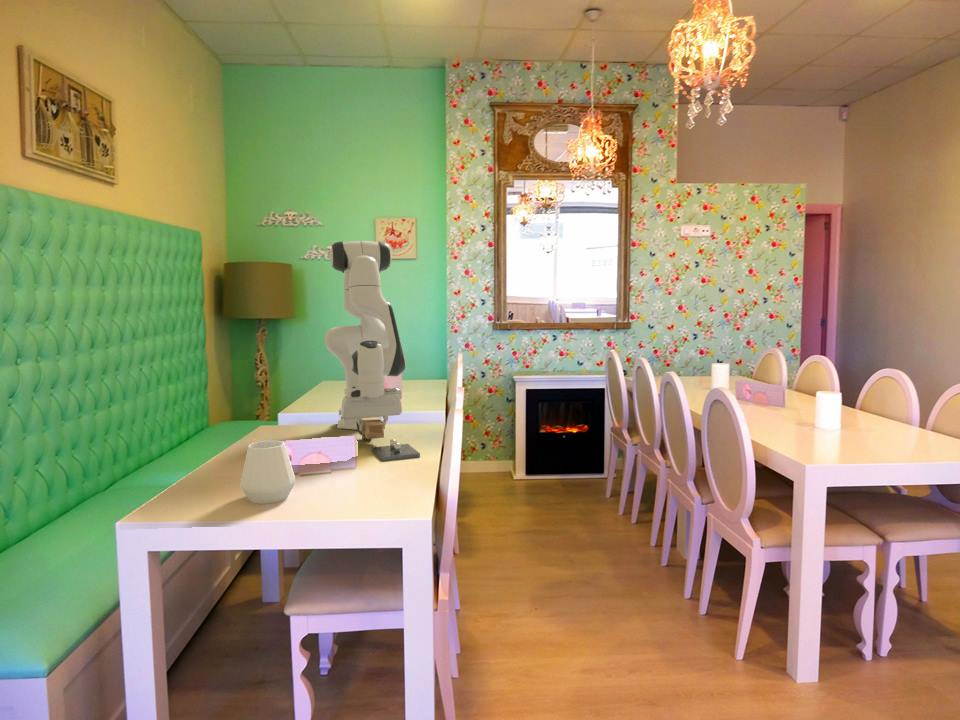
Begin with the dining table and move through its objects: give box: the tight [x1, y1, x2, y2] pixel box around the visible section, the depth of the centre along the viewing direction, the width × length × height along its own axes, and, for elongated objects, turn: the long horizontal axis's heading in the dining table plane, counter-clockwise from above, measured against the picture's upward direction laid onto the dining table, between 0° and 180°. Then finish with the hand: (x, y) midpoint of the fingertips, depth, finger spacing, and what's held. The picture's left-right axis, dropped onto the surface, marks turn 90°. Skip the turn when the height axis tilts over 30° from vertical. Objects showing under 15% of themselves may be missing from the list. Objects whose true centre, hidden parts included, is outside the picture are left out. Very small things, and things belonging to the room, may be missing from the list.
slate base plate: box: [371, 439, 421, 462], centre depth 208 cm, size 14×12×4 cm
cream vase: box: [239, 439, 296, 505], centre depth 165 cm, size 13×13×14 cm
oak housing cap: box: [361, 417, 385, 440], centre depth 220 cm, size 10×6×5 cm, turn 22°
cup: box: [356, 421, 372, 441], centre depth 229 cm, size 8×7×8 cm
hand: (372, 429), depth 220 cm, fingers closed on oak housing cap, 5 cm apart
